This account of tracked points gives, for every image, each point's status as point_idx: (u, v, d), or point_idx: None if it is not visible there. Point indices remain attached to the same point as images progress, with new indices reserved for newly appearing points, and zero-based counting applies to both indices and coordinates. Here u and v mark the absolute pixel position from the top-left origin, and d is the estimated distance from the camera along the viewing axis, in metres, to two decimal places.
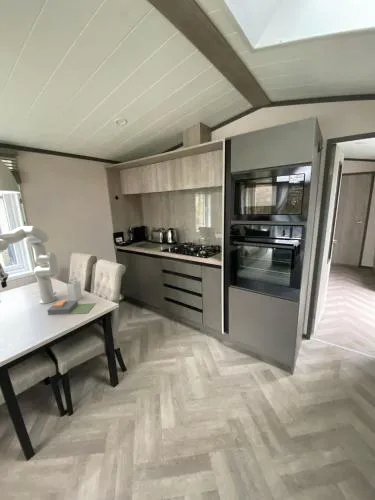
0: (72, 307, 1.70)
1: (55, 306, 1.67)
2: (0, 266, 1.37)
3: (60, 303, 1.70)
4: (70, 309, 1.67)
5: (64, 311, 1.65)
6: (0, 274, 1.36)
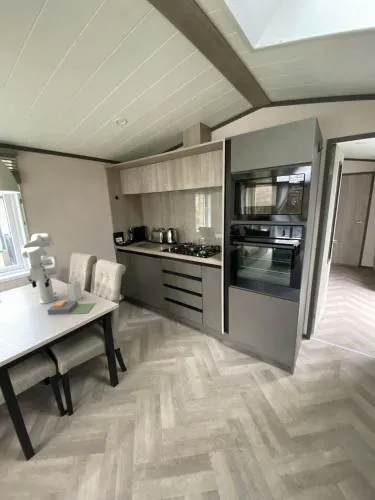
0: (72, 307, 1.70)
1: (55, 306, 1.67)
2: (44, 269, 1.64)
3: (60, 303, 1.70)
4: (70, 309, 1.67)
5: (64, 311, 1.65)
6: (44, 276, 1.63)
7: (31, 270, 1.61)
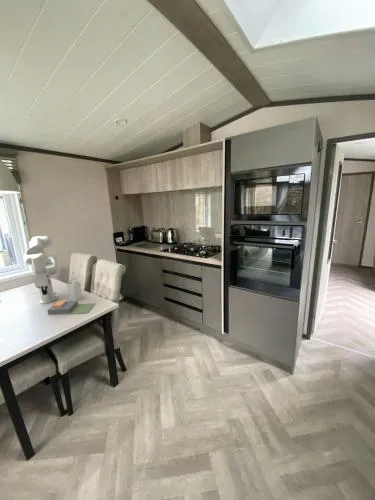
0: (72, 307, 1.70)
1: (55, 306, 1.67)
2: (48, 275, 1.66)
3: (60, 303, 1.70)
4: (70, 309, 1.67)
5: (64, 311, 1.65)
6: (48, 281, 1.65)
7: (35, 276, 1.63)
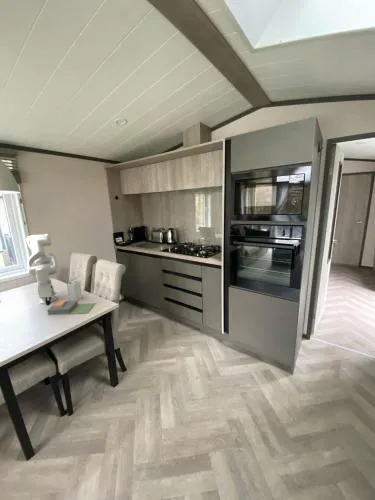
0: (72, 307, 1.70)
1: (55, 306, 1.67)
2: (51, 286, 1.69)
3: (60, 303, 1.70)
4: (70, 309, 1.67)
5: (64, 311, 1.65)
6: (52, 292, 1.68)
7: (39, 287, 1.65)
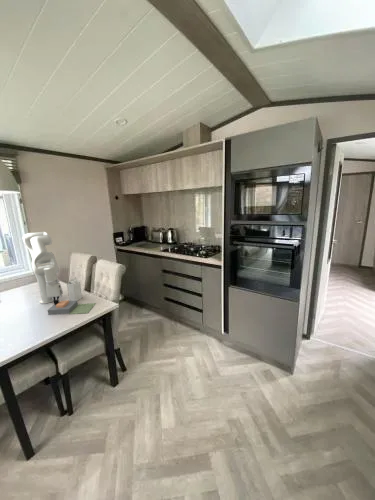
0: (72, 307, 1.70)
1: (57, 306, 1.67)
2: (59, 285, 1.69)
3: (62, 303, 1.70)
4: (70, 309, 1.67)
5: (64, 311, 1.65)
6: (60, 292, 1.68)
7: (47, 287, 1.65)
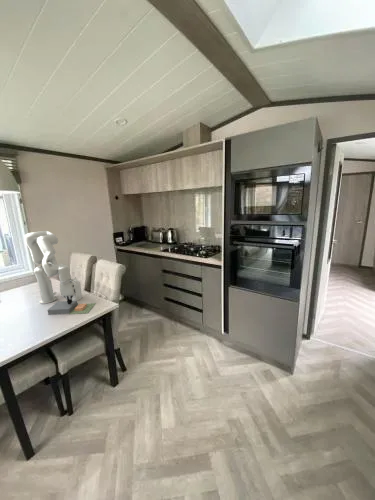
0: (72, 307, 1.70)
1: (80, 309, 1.68)
2: (73, 285, 1.69)
3: None
4: (70, 309, 1.67)
5: (64, 311, 1.65)
6: (73, 291, 1.68)
7: (61, 286, 1.66)
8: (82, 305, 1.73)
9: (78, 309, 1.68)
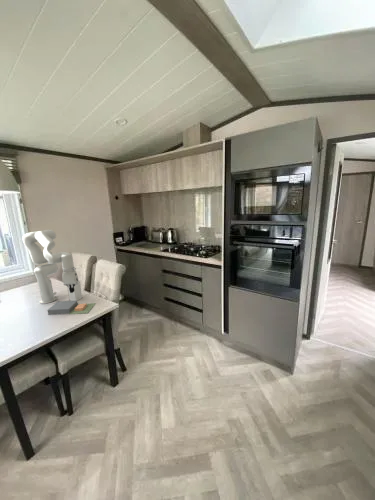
0: (72, 307, 1.70)
1: (80, 309, 1.68)
2: (76, 273, 1.67)
3: None
4: (70, 309, 1.67)
5: (64, 311, 1.65)
6: (76, 280, 1.66)
7: (63, 274, 1.64)
8: (82, 305, 1.73)
9: (78, 309, 1.68)
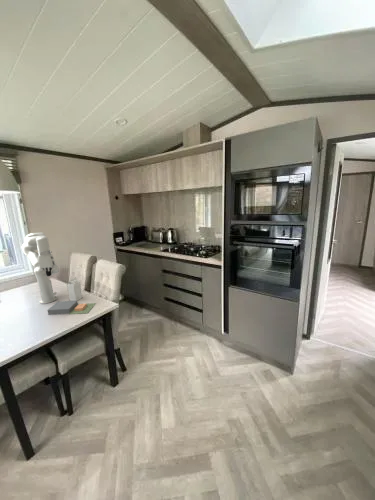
0: (72, 307, 1.70)
1: (80, 309, 1.68)
2: (52, 257, 1.68)
3: None
4: (70, 309, 1.67)
5: (64, 311, 1.65)
6: (52, 263, 1.67)
7: (39, 257, 1.65)
8: (82, 305, 1.73)
9: (78, 309, 1.68)
